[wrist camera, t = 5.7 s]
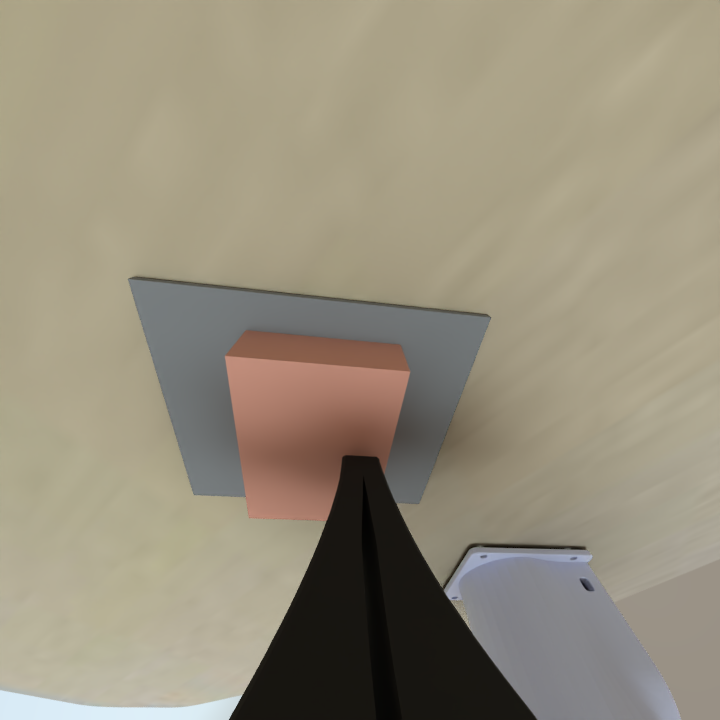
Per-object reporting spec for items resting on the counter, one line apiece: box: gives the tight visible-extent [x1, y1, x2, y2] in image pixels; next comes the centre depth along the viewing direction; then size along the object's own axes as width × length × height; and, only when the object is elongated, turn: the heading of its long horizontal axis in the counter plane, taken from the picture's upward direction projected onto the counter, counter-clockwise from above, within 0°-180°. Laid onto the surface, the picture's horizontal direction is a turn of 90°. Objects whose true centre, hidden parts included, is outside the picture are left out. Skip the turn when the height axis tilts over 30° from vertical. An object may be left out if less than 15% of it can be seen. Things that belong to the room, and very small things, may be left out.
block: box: [225, 330, 410, 521], centre depth 12 cm, size 2×9×6 cm
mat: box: [128, 277, 491, 504], centre depth 13 cm, size 13×12×1 cm
